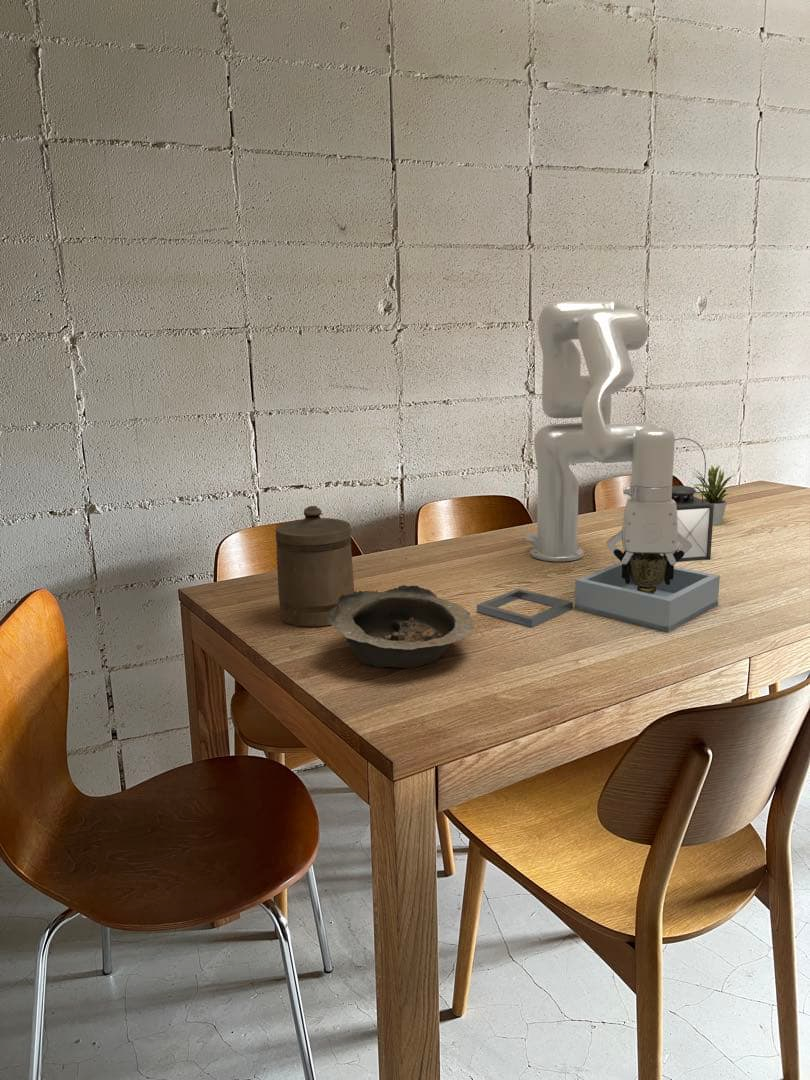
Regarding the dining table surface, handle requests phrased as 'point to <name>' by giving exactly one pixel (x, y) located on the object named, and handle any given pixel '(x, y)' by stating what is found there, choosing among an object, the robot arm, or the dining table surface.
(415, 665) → the stone bowl
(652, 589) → the dark bronze rounded piece
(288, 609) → the wooden container
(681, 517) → the lantern
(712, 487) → the house plant
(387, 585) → the dining table surface
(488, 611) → the square metal frame
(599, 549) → the dining table surface
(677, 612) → the bin
